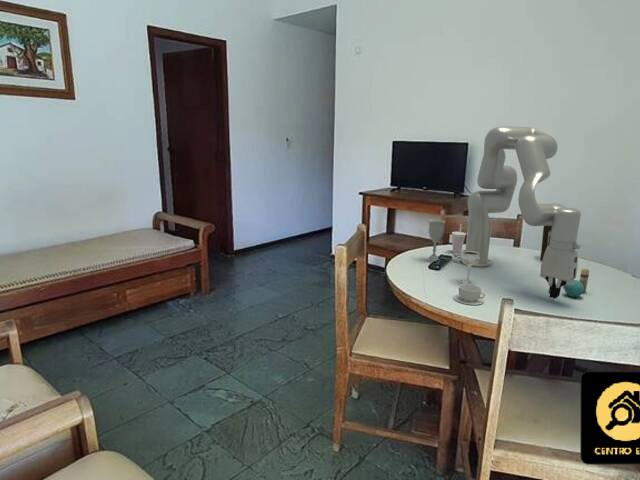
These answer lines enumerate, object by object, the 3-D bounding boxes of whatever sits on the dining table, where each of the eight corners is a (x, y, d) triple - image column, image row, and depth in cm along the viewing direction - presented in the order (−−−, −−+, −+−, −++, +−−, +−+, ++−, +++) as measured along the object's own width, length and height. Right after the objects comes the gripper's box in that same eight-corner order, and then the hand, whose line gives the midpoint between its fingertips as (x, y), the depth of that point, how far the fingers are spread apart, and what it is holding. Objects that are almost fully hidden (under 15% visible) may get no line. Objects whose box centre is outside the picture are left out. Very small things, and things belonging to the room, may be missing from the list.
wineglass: (457, 284, 160) (461, 253, 157) (458, 278, 167) (461, 248, 164) (476, 286, 158) (480, 255, 155) (477, 280, 164) (480, 250, 161)
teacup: (449, 301, 144) (451, 288, 143) (458, 292, 152) (459, 280, 151) (480, 308, 139) (481, 295, 138) (487, 299, 147) (488, 286, 146)
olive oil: (537, 256, 197) (545, 203, 191) (563, 259, 194) (572, 205, 187) (539, 263, 188) (548, 207, 181) (567, 266, 184) (576, 209, 178)
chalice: (443, 260, 190) (446, 220, 185) (440, 264, 184) (444, 223, 179) (426, 257, 193) (429, 219, 188) (423, 261, 187) (426, 221, 182)
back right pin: (579, 293, 153) (583, 270, 151) (576, 290, 155) (580, 268, 153) (586, 293, 153) (591, 271, 151) (583, 291, 155) (587, 268, 153)
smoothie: (464, 255, 198) (467, 225, 194) (450, 254, 199) (453, 225, 195) (463, 251, 204) (466, 223, 200) (449, 250, 205) (451, 222, 202)
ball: (577, 291, 153) (566, 300, 151) (567, 277, 153) (557, 286, 152) (591, 289, 147) (580, 299, 146) (581, 275, 148) (570, 284, 146)
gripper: (591, 248, 137) (582, 301, 142) (544, 239, 148) (536, 288, 153) (582, 252, 133) (572, 306, 137) (534, 242, 144) (526, 293, 148)
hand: (553, 297), depth 145 cm, fingers closed
